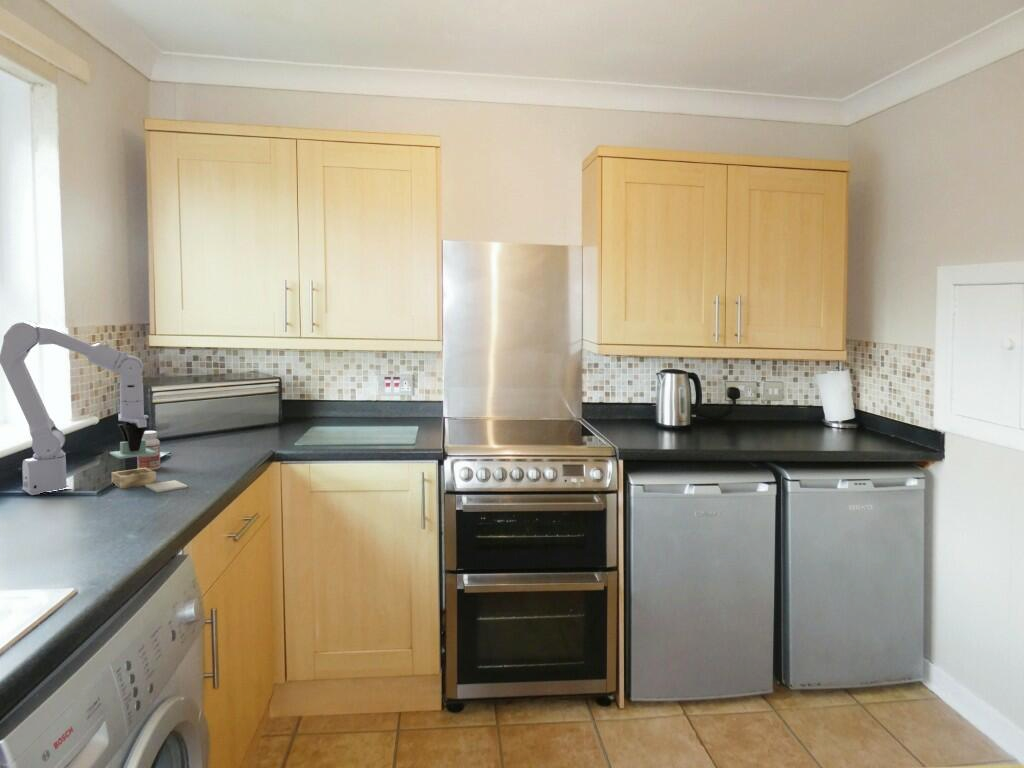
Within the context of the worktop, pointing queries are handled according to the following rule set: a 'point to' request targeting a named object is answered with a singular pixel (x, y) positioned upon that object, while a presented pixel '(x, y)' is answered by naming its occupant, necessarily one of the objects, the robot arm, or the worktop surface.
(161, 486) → the mat
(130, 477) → the box
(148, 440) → the pill bottle
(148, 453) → the lid
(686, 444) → the worktop surface
